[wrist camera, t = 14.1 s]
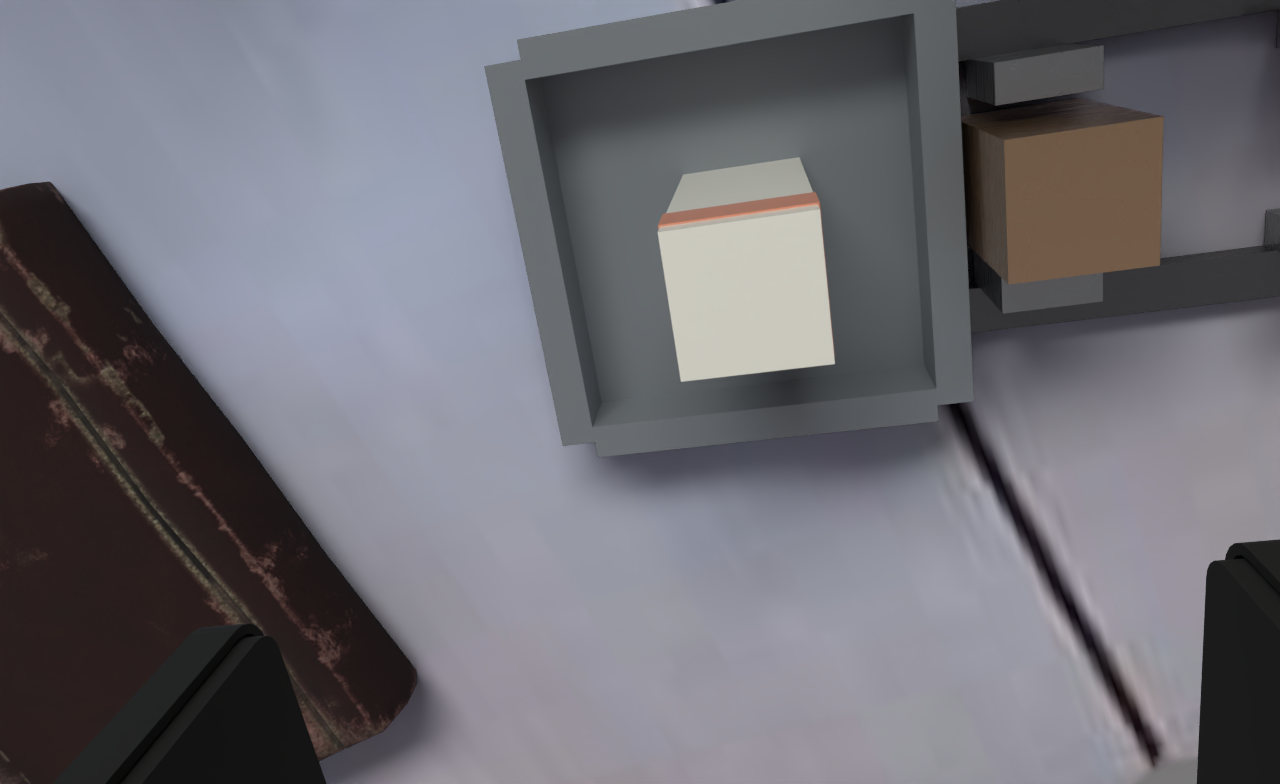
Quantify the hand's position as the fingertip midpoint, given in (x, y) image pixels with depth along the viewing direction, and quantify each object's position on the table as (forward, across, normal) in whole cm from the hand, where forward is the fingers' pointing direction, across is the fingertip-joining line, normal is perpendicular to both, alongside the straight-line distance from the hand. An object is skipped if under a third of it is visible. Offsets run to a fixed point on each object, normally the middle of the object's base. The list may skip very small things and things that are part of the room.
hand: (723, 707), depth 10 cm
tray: (+26, 0, 0) cm, 26 cm away
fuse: (+26, 0, 0) cm, 26 cm away
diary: (+27, +30, +10) cm, 41 cm away
